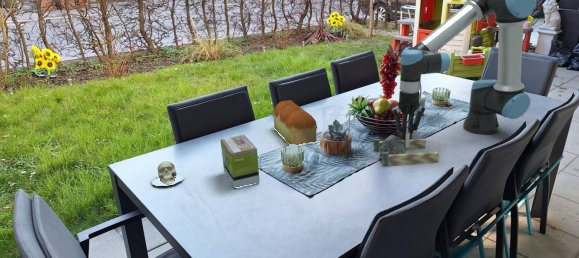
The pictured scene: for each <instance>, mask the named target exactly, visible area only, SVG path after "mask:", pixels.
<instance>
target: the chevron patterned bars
mask: <svg viewBox="0 0 579 258" xmlns="http://www.w3.org/2000/svg"><path fill="white" fill-rule="evenodd" d="M401 140H402V139H401ZM383 141H384V140H380V139H379V138H373V145H372V150H373V152H375V153H377V152H380V147H381V144H382V142H383ZM402 141H404V140H402ZM426 146H427V139H426V138H414V139H413V138H412V139H411V140H409V148H406V151H407V150H423V149H426V148H427V147H426ZM439 159H440V152H439V151H428V152H413V153H412V152H411V153H408V152H407V153H405V154H392V155H389V153H388V152H382V158H381V165H382V167H388V166H402V165H403V166H404V165H422V164H435V163H436V164H437V163H439Z"/></svg>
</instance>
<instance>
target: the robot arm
mask: <svg viewBox="0 0 579 258" xmlns="http://www.w3.org/2000/svg"><path fill="white" fill-rule="evenodd" d="M536 7H537V0H466V1H464V3H463V6H462V7H461V8H460V9H458V10H457V11H456V12H455V13H454V14H453V15H451V16H450V17H448V19H446V20H445V21H444V22H443V23H441V24H440V25H439V26H437V28H435V29H434V30H433V31H432V32H430V33H429V34H428V35H426V36H425V37H424V38H423V39H422V40H420V41H419V42H418V43H416V45H414V46H407V47H405V48H404V49H403V50H402V51H401V53H400V55H401V56H400V57H401V58H400V75H399V77H400V81H399V94H398V95H399V97H398V98H399V99H398V103H397V106H395V107H392V108H391V111H392V113H393V114H394V121H395V124H396V125H395V126H396V129H397V131H398V132H399V133H401V137H400V139H401V140H404V141H403V143H404V146H405V149H406V148H409V140H411V139H413V134H414V132H417V131H418V129H419V126H420V122H421V119H422V116H423V114H424V112H425V111H426V108H425V107H424V106H423V105H421V104H420V90H421V80H422V75H430V74H437V73H438V74H440V73H445V72H447V71H448V70H449V69H450V68H451V57H450V55H449V54H448V53H447V52H438V51H440V50H441V49H442V48H443V47H444V46H446V45H447V44H448V43H450V41H452V40H453V39H454V38H455V37H457V36H458V35H459V34H461V33H462V31H464V30H466V29H467V28H468V27H469V26H470V25H472V24H473V23H474V22H475V21H481V19H483V18H484V17H486V16H490V15H494V23H495V24H496V25H497V26H498V45H497V49H498V51H497V52H498V53H497V54H498V55H497V57H498V58H497V79H479V80H475V81H473V82H472V85H471V89H470V99H469V109H468V113H467V115H466V116H465V119H464V121H463V125H462V127H463V130H465V131H467V132H469V133H473V134H477V135H493V134H496V133H498V132H499V129H500V124H499V121H498V116H497V115H500V116H501V117H504V118H506V119H507V118H508V119H510V120H515V119H519V118H521V117H522V116H524V115H525V113H526V112H528V109H530V106H531V97H530V96H529V94H527V93H525V84H524V83H522V81H521V80H522V79H521V77H522V65H523V64H522V63H523V62H522V60H523V59H522V58H523V43H524V42H523V38H524V24H526V23H527V21H529V16H530V15H532V14H533V12H534V10H535V9H536ZM400 111H401V115H402V116H401V117H402V118H400V113H399V112H400ZM415 113H416V114H415Z"/></svg>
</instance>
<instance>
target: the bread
mask: <svg viewBox="0 0 579 258" xmlns="http://www.w3.org/2000/svg"><path fill="white" fill-rule="evenodd" d="M272 117H273V128H275V129H276V130H277V131H278V132H279V133H280V134H281V135H282V136H283V137H284V138H285V140H286V141H287V142H288V143H289V144H296V145H299V144H303V143H309V142H315V141H317V129H318V124H317V121H316V119H315V118H314V117H313V116H312V115H311V114H310V113H309V112H307V111H306V110H305V109H303V108H302V107H301V106H299V105H298V104H296V103H295V102H294V101H292V100H291V99H289V100H282V101H279V102H278V104H276V105H275V106H274V108H273V111H272ZM285 140H284V141H285ZM286 141H285V142H286ZM287 142H286V143H287ZM317 142H318V141H317ZM288 143H287V144H288ZM289 144H288V145H289Z"/></svg>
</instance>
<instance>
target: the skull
mask: <svg viewBox="0 0 579 258" xmlns="http://www.w3.org/2000/svg"><path fill="white" fill-rule="evenodd" d="M176 175H177V172H176V167H175V164H174V163H172V161H167V160H166V161H162V162H161V163H159V165H158V166H157V177H159V178H160V181H161V182H162V183H164V184H166V185H169V184H172V183H173V182H174V181H175V178H176V177H175V176H176Z"/></svg>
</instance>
